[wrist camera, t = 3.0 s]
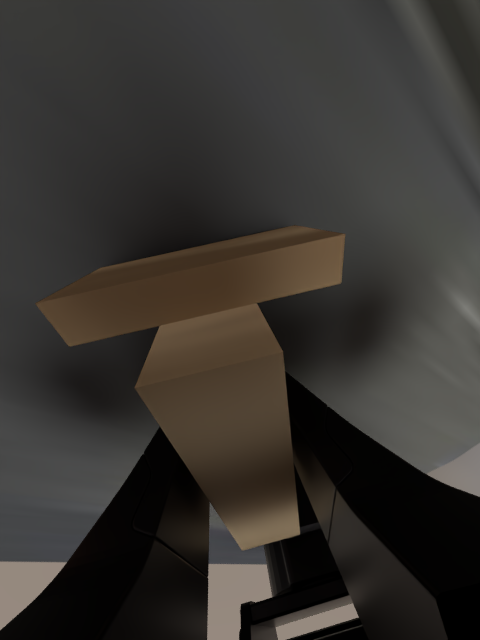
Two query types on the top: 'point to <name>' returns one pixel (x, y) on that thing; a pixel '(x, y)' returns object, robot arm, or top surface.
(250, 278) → the scraper
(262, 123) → the top surface
